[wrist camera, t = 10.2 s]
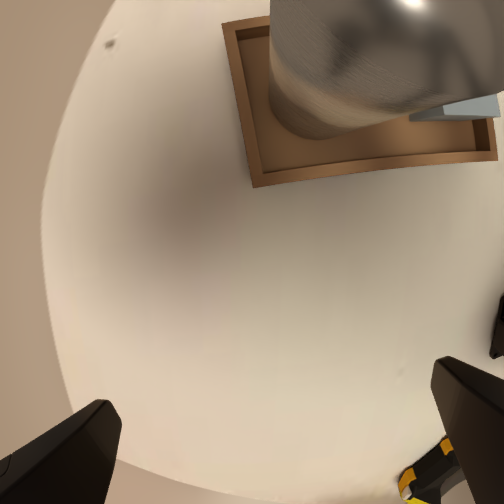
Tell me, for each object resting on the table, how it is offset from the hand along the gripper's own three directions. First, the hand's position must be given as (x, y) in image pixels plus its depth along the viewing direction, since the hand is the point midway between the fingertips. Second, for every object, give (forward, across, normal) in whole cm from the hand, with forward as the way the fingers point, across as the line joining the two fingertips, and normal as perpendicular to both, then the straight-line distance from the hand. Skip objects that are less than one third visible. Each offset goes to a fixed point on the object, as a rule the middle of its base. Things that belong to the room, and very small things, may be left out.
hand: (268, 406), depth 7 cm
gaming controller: (+13, -17, +29) cm, 37 cm away
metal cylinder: (+11, -4, -9) cm, 15 cm away
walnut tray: (+13, -8, -9) cm, 18 cm away
